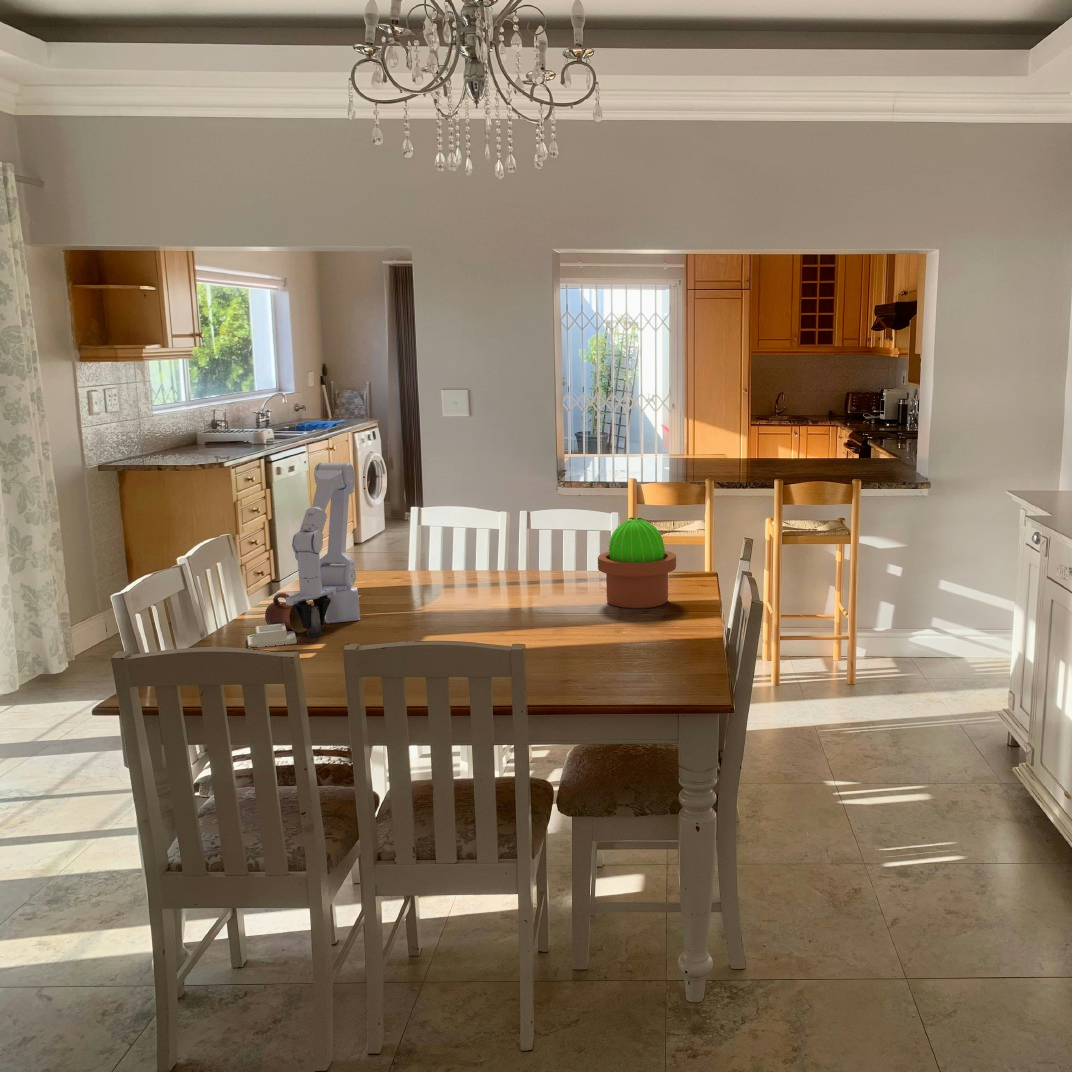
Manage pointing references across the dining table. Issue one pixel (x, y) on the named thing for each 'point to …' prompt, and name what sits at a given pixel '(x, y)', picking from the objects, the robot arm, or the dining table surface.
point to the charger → (271, 636)
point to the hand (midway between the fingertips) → (313, 626)
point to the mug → (283, 614)
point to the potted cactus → (637, 566)
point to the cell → (314, 621)
